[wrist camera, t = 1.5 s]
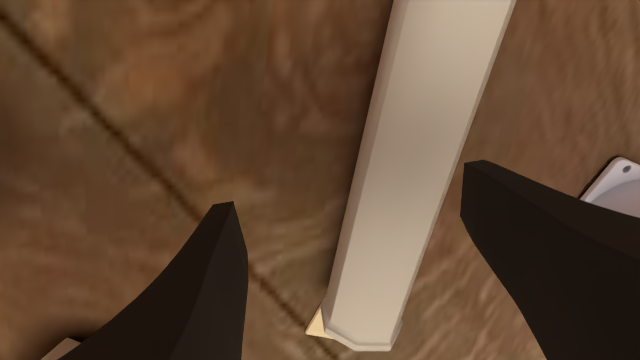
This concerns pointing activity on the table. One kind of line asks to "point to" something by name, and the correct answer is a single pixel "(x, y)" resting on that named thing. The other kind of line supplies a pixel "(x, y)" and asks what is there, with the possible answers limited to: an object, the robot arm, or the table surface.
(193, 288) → the robot arm
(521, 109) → the table surface
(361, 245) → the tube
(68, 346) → the die
